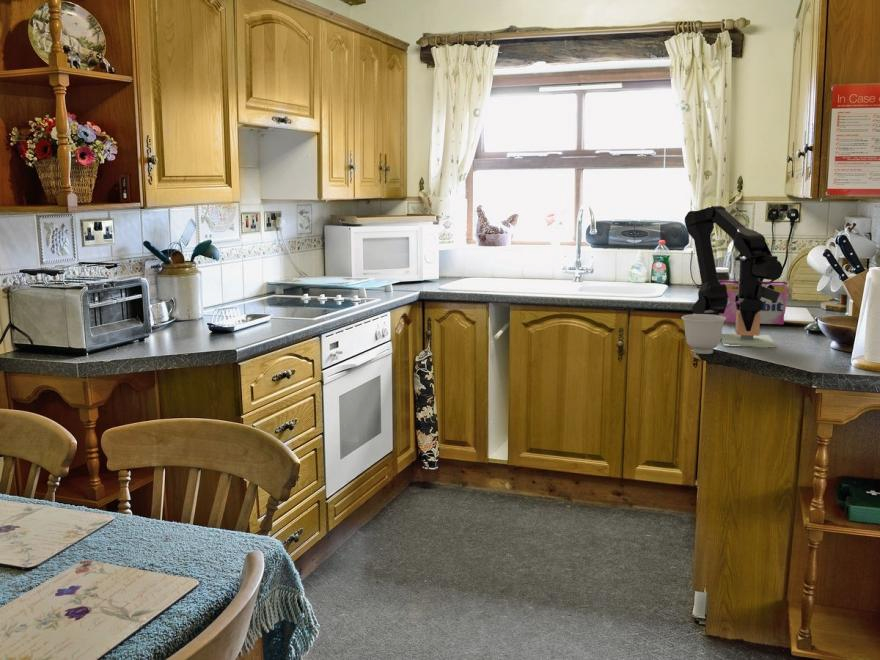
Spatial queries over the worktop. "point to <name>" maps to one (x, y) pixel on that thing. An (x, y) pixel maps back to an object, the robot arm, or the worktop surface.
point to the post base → (748, 340)
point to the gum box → (771, 310)
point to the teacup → (703, 331)
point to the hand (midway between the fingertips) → (747, 329)
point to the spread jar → (723, 274)
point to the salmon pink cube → (741, 327)
